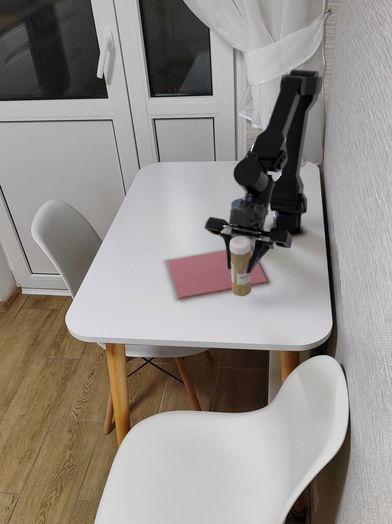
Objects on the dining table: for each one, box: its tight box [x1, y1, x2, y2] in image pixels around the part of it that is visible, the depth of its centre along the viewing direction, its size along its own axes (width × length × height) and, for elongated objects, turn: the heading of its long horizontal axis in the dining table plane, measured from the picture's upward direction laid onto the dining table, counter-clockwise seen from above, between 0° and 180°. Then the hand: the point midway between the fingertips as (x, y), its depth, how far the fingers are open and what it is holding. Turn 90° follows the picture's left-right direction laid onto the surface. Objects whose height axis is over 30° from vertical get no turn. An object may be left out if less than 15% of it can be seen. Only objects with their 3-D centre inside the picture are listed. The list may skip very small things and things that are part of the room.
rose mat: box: [167, 249, 268, 300], centre depth 135 cm, size 22×16×1 cm
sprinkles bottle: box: [230, 236, 252, 297], centre depth 118 cm, size 5×5×13 cm
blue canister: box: [230, 197, 252, 239], centre depth 143 cm, size 6×6×9 cm
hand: (238, 271), depth 117 cm, fingers closed on sprinkles bottle, 4 cm apart
